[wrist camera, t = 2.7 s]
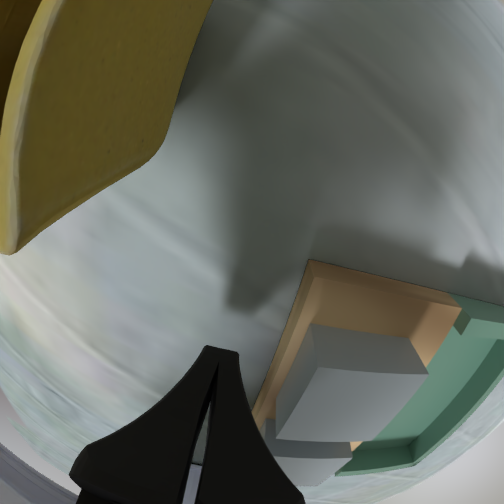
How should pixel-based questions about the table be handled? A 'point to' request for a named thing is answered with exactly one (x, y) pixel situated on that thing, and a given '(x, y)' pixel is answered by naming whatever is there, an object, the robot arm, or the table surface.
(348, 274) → the board
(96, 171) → the flower pot
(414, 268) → the table surface
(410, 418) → the tray
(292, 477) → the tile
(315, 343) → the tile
